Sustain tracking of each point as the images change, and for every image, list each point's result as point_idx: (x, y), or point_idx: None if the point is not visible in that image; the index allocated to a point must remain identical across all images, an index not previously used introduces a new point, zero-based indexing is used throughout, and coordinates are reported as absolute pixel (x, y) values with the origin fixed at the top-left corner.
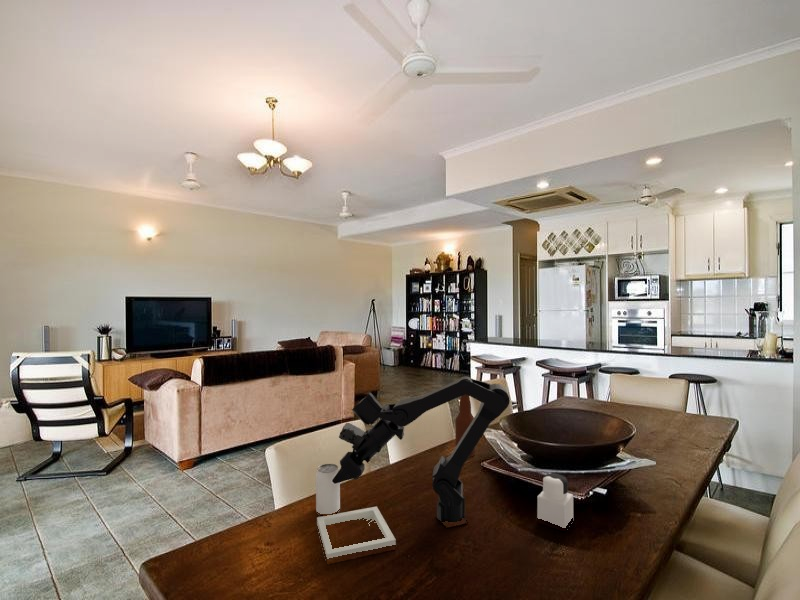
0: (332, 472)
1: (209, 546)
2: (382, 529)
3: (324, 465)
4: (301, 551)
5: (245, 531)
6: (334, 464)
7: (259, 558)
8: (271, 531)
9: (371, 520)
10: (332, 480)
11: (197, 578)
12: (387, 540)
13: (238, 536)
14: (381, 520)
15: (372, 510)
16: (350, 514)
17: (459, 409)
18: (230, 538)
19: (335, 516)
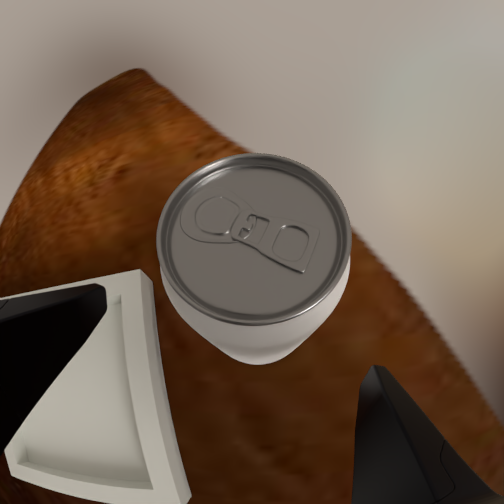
0: (170, 275)
1: (158, 93)
2: (52, 473)
3: (331, 200)
4: (63, 248)
5: (189, 121)
6: (333, 283)
7: (81, 171)
8: (170, 165)
9: (136, 470)
10: (91, 284)
11: (83, 113)
12: (7, 456)
13: (174, 116)
14: (84, 490)
15: (153, 487)
16: (133, 401)
17: None
18: (172, 108)
19: (128, 339)
